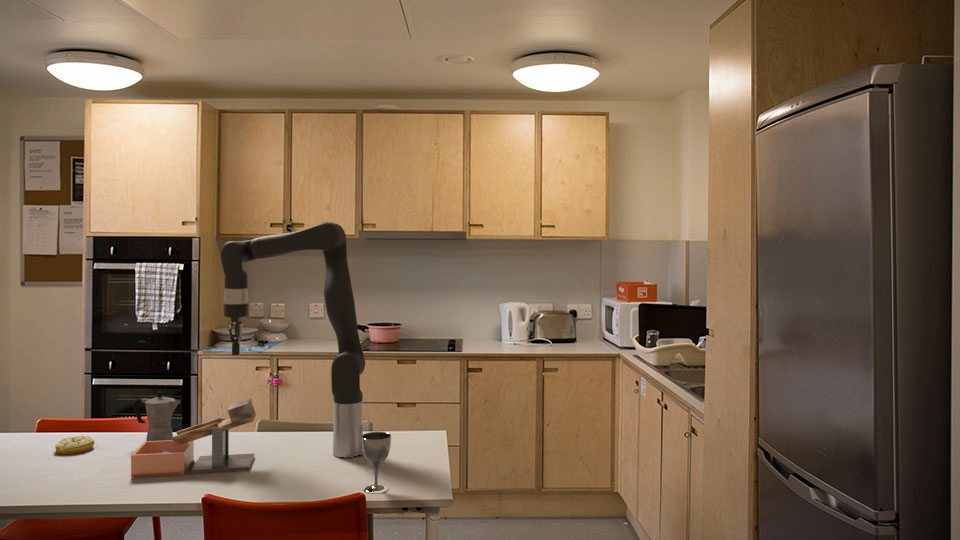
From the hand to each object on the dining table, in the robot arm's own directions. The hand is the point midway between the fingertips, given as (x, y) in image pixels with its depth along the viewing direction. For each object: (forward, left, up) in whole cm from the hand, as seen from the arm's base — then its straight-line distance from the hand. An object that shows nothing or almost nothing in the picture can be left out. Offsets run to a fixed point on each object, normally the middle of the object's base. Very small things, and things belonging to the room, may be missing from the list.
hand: (235, 354), depth 216 cm
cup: (+18, +17, -31) cm, 40 cm away
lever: (+3, +17, -20) cm, 27 cm away
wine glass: (-43, +45, -31) cm, 70 cm away
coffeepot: (+26, -8, -31) cm, 41 cm away
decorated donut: (+50, -7, -31) cm, 60 cm away
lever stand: (+2, +17, -31) cm, 35 cm away
